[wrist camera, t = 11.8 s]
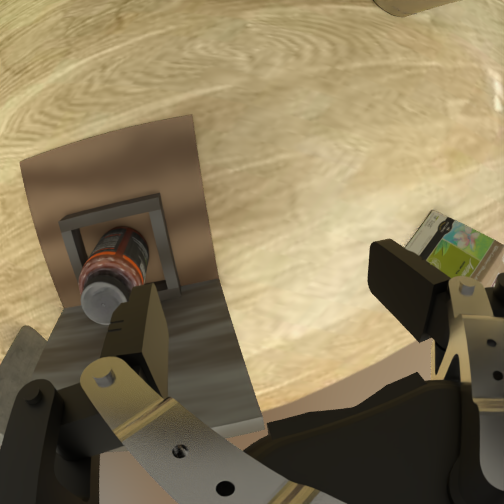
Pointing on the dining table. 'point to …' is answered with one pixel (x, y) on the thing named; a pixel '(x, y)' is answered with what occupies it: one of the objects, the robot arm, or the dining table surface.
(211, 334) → the wall board holder
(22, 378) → the hip flask
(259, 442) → the robot arm
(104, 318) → the supplement bottle
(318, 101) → the dining table surface
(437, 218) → the tea box
